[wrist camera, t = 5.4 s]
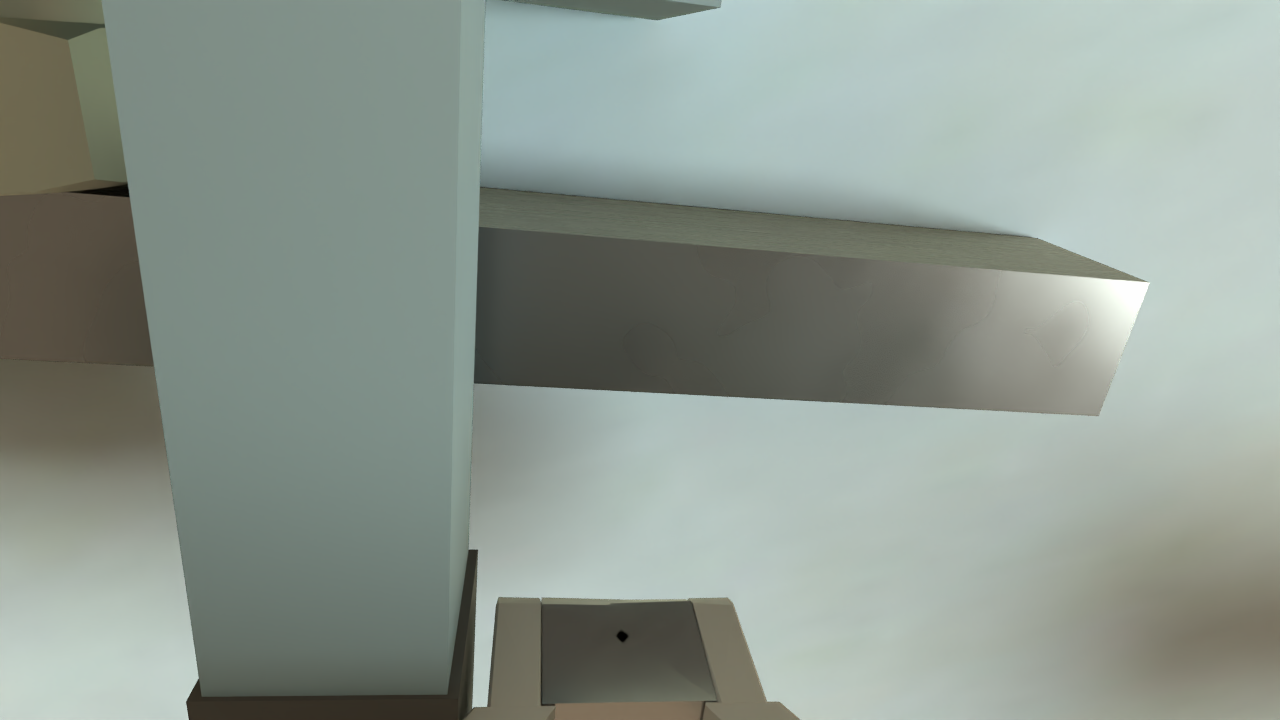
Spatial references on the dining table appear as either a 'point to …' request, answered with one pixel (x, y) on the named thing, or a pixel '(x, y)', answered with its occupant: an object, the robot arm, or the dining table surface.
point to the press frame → (668, 303)
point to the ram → (316, 335)
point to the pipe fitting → (57, 99)
